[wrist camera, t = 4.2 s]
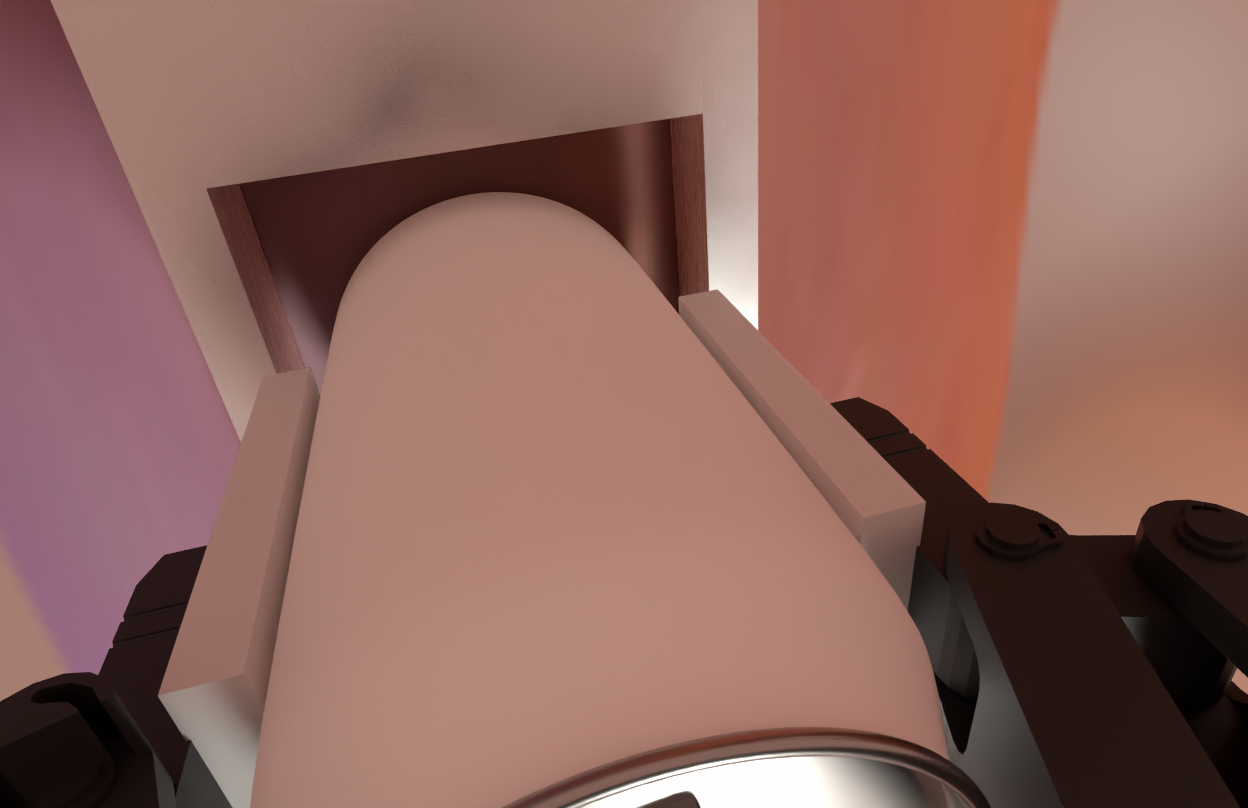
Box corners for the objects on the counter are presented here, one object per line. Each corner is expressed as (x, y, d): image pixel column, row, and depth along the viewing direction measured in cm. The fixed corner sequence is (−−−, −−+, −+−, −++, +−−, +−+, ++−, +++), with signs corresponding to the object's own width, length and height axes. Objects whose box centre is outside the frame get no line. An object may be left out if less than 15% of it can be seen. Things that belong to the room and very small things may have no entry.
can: (415, 510, 17) (436, 1262, 7) (270, 253, 14) (-66, 1008, 4) (679, 410, 18) (1040, 988, 8) (602, 136, 14) (1077, 540, 4)
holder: (737, 846, 29) (758, 901, 27) (473, 930, 27) (478, 994, 26) (712, -96, 13) (758, -104, 12) (90, -31, 12) (38, -29, 10)
